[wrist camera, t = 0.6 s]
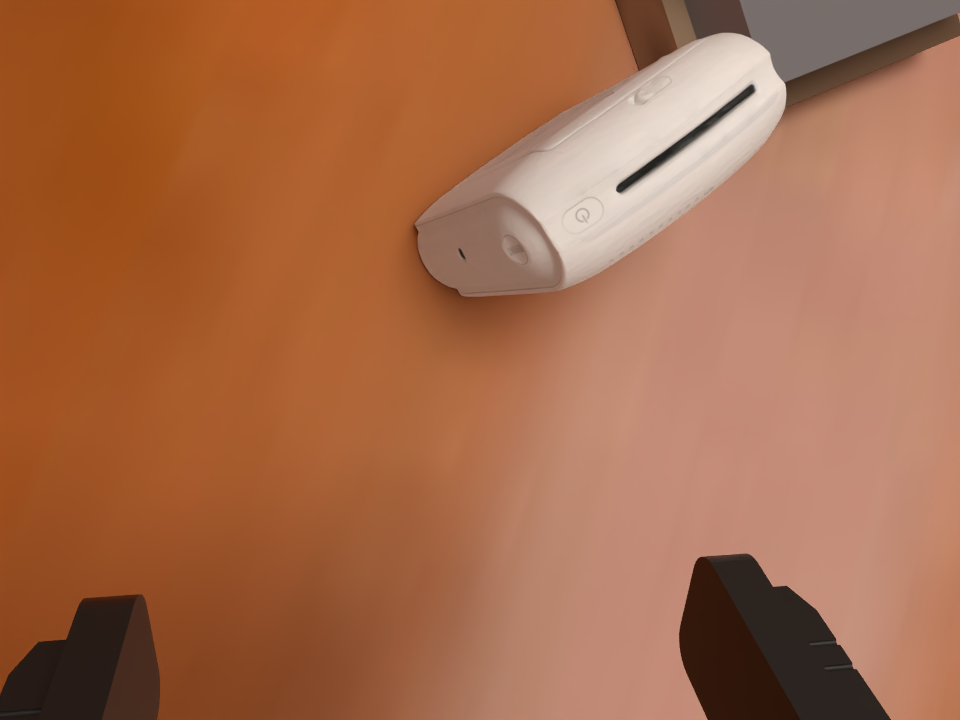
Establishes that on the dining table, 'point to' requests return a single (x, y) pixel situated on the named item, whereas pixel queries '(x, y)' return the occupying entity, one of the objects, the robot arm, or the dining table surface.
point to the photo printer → (605, 173)
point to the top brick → (815, 26)
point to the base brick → (667, 27)
